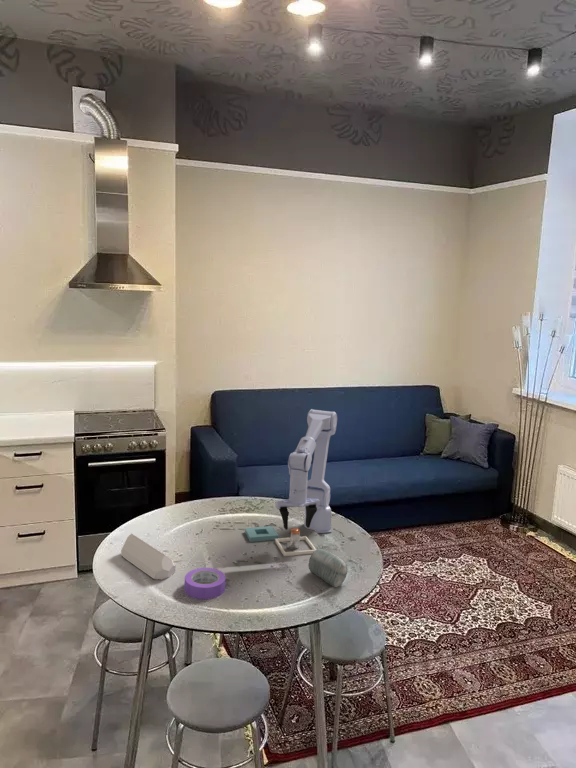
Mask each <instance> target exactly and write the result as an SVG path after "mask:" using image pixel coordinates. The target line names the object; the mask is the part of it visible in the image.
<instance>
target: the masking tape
mask: <svg viewBox="0 0 576 768" xmlns="http://www.w3.org/2000/svg"><path fill="white" fill-rule="evenodd" d="M183 586H184V592H185V594H186V595H187V596H188V597H190V598H192V599H197V600H211V599H214V598H218V597H220V596H221V595H222V594H224V592H225V590H226V574H225V573H224V572H223V571H222V570H219V569H217V568H213V567H199V568H194V569H192V570H190V571H188V572H187V573H186V574H185V576H184V585H183Z"/></svg>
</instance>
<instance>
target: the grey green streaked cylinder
mask: <svg viewBox="0 0 576 768" xmlns="http://www.w3.org/2000/svg"><path fill="white" fill-rule="evenodd" d="M316 549H317V550H315V551H314V552H313V553H312V554H310V557H309V560H308V569H309V571H310V573H311V574H313V575H315V576H316V577H318V578H320V579H321V580H323V581H324V582H326V583H327V584H329V585H330V586H332V587H339V586H341V585H342V584H343V583H344V581H345V580H346V578H347V574H348V566H347V564H346V562H345V561H344V560H343V559H342V558H341V557H339V556H338V555H336V554H334V553H332V552H330V551H329V550H325V549H322V548H316Z"/></svg>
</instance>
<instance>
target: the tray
mask: <svg viewBox="0 0 576 768" xmlns="http://www.w3.org/2000/svg"><path fill="white" fill-rule="evenodd" d="M300 541H305V542H306V543H307V544H308V546H309V547H310V548H311V549H308V550H295V551H285V550H284V548H283V546H282V544H281V543H286V542H291V536H290V537H281V538H278V539H275V540H274V543H275V544H276V545H277V547H278V549H279V551H280V552H281V553H282V555H283V557H291V556H293V557H294V556H301V555H312V553H313V552H314V551H315V550H317V549H318V548H316V547H315V546H314V544H313V543H312V541H311V540H310V539H309V538H308V537H307V535H304V536H300Z"/></svg>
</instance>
